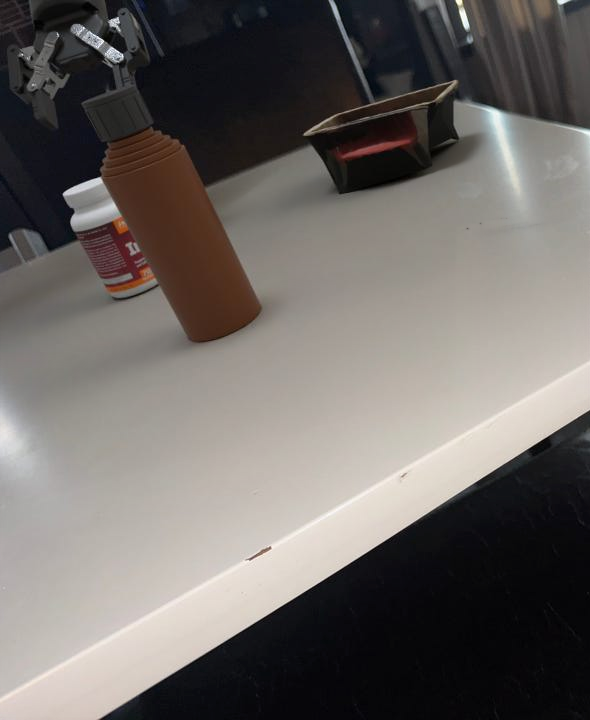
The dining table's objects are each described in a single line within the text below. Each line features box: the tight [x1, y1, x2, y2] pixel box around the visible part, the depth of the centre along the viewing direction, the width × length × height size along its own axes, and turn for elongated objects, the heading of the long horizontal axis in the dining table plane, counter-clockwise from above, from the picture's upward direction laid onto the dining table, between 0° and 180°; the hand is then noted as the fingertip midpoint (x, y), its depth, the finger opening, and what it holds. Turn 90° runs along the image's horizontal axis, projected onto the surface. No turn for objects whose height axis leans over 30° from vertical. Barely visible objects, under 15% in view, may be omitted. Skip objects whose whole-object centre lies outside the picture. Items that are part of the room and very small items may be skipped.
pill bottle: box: [62, 176, 159, 299], centre depth 77 cm, size 6×6×11 cm
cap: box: [81, 84, 154, 143], centre depth 55 cm, size 4×4×3 cm
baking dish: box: [302, 79, 460, 195], centre depth 89 cm, size 14×18×10 cm
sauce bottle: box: [99, 125, 262, 343], centre depth 59 cm, size 6×6×18 cm
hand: (88, 113), depth 80 cm, fingers open, 8 cm apart
